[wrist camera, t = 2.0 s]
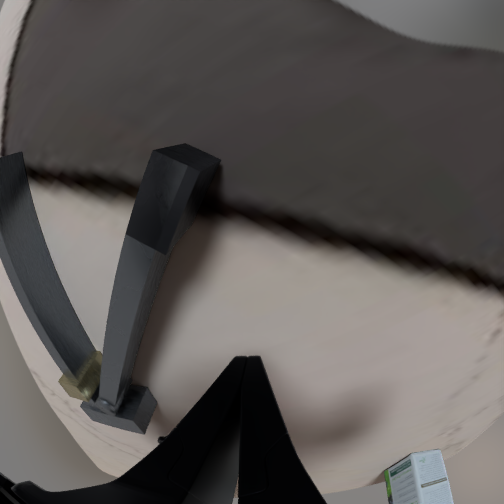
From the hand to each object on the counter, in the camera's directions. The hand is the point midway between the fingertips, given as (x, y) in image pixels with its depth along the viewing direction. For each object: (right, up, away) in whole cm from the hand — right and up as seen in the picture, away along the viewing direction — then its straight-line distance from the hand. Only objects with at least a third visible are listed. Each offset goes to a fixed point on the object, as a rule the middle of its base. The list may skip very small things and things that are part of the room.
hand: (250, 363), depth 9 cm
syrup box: (+20, -23, +14) cm, 33 cm away
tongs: (-11, +1, +6) cm, 13 cm away
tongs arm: (-6, +1, +5) cm, 8 cm away
